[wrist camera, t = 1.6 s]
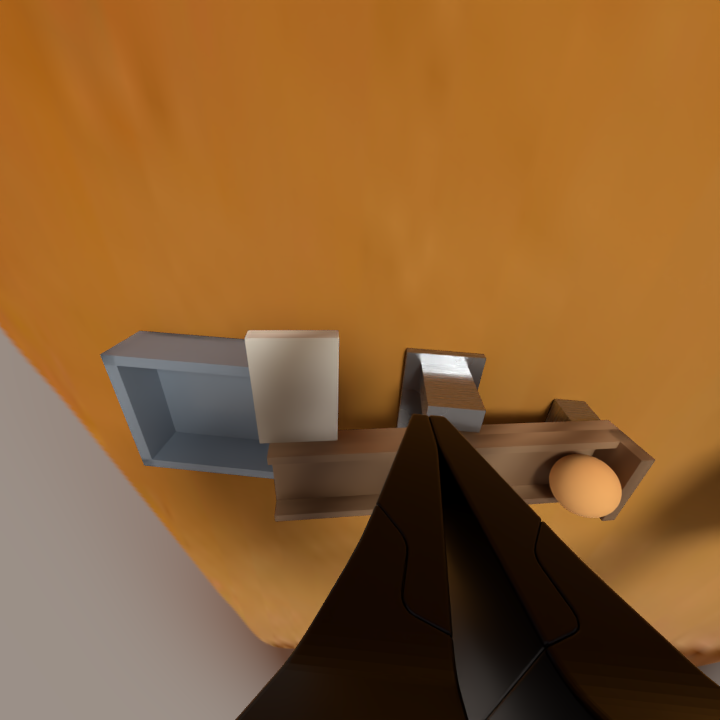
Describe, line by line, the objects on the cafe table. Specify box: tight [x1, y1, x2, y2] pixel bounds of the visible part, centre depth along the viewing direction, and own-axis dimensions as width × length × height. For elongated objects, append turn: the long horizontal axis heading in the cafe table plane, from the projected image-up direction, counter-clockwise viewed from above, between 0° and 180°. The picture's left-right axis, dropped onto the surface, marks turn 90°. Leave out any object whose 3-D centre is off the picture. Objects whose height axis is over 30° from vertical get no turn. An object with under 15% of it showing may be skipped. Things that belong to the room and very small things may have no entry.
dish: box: [100, 331, 274, 479], centre depth 23 cm, size 10×9×4 cm
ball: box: [549, 454, 622, 518], centre depth 18 cm, size 3×3×3 cm
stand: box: [396, 348, 600, 433], centre depth 21 cm, size 20×10×5 cm, turn 87°
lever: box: [245, 330, 655, 521], centre depth 17 cm, size 20×11×4 cm, turn 87°
